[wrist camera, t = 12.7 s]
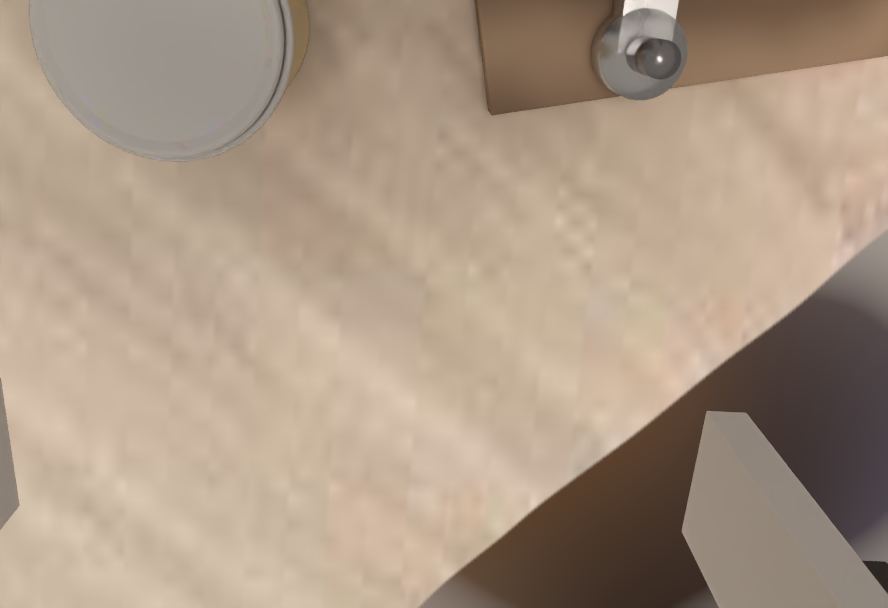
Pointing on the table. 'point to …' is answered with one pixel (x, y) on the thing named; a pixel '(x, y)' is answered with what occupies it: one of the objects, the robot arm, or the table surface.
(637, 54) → the lever
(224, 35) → the coffee cup
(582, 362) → the table surface
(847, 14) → the nutcracker board
